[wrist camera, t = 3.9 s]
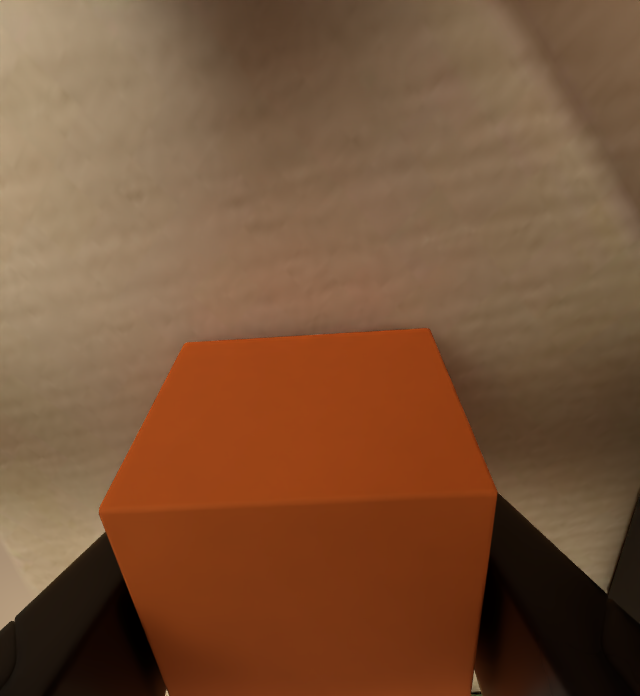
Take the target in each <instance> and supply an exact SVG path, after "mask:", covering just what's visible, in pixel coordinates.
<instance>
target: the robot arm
mask: <svg viewBox="0 0 640 696" xmlns="http://www.w3.org/2000/svg"><path fill="white" fill-rule="evenodd" d="M474 670H475V674H476V677H477V680H478V684H479V687H480V690H481V694H482V696H640V624H639V623H638V622H637V621H636V620H635V619H634V618H633V617H631V616H630V615H629V614H628V613H627V612H626V611H625V610H624V609H623V608H622V607H621V606H620V605H619V604H617V603H616V602H615V601H614V600H613V599H611V598H609V599H608V595H607V594H606V593H605V592H604V591H603V590H602V589H601V588H600V587H599V586H598V585H597V584H596V583H595V582H594V581H592V580H591V579H590V578H589V577H588V576H587V575H586V574H585V573H584V572H583V571H582V570H581V569H580V568H579V567H577V566H576V565H575V564H574V563H573V562H572V561H571V560H570V559H569V558H568V557H567V556H566V555H565V554H563V553H562V552H561V551H560V550H559V549H558V548H557V547H556V546H555V545H554V544H553V543H552V542H551V541H549V540H548V539H547V538H546V537H545V536H544V535H543V534H542V533H541V532H540V531H539V530H538V529H537V528H536V527H534V526H533V525H532V524H531V523H530V522H529V521H528V520H527V519H526V518H525V517H524V516H523V515H522V514H520V513H519V512H518V511H517V510H516V509H515V508H514V507H513V506H512V505H511V504H510V503H509V502H508V501H506V500H505V499H504V498H503V497H502V496H501V495H500V494H499V493H497V501H496V508H495V516H494V523H493V531H492V538H491V546H490V553H489V561H488V568H487V576H486V584H485V591H484V599H483V606H482V614H481V621H480V629H479V636H478V644H477V651H476V659H475V667H474ZM166 689H167V688H166V685H165V683H164V680H163V678H162V675H161V673H160V670H159V667H158V665H157V662H156V660H155V657H154V655H153V652H152V649H151V647H150V644H149V642H148V639H147V637H146V634H145V631H144V629H143V626H142V624H141V621H140V619H139V616H138V613H137V611H136V608H135V606H134V603H133V600H132V598H131V595H130V593H129V590H128V588H127V585H126V582H125V580H124V577H123V575H122V572H121V570H120V567H119V564H118V562H117V559H116V557H115V554H114V552H113V549H112V546H111V544H110V541H109V539H108V536H107V533H106V532H105V533H104V534H103V535H101V536H100V537H99V538H98V539H97V540H96V541H95V542H94V543H93V544H92V545H91V546H90V547H89V548H88V549H87V550H86V551H85V552H83V553H82V554H81V555H80V556H79V557H78V558H77V559H76V560H75V561H74V562H73V563H72V564H71V565H70V566H69V567H68V568H67V569H65V570H64V571H63V572H62V573H61V574H60V575H59V576H58V577H57V578H56V579H55V580H54V581H53V582H52V583H51V584H50V585H49V586H47V587H46V588H45V589H44V590H43V591H42V592H41V593H40V594H39V595H38V596H37V597H36V598H35V599H34V600H33V601H32V602H31V603H29V604H28V606H26V607H25V608H24V609H23V610H22V611H21V612H20V613H19V614H18V615H17V616H16V617H15V622H14V621H11V622H9V623H8V624H7V625H6V626H5V627H4V628H3V629H2V630H1V631H0V696H165V693H166Z"/></svg>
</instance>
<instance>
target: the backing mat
mask: <svg viewBox="0 0 640 696" xmlns="http://www.w3.org/2000/svg"><path fill="white" fill-rule="evenodd" d="M609 598H611V599H613V600H614V601H615V602H616V603H617V604H619V605H620V606H621V607H622V608H623V609H624V610H625V611H626V612H627V613H628V614H629V615H630V616H631V617H633V618H634V619H635V620H636V621H637V622H638V623H639V624H640V496H639V499H638V502H637V505H636V509H635V512H634V515H633V518H632V521H631V524H630V528H629V531H628V534H627V537H626V540H625V543H624V547H623V550H622V553H621V556H620V559H619V562H618V566H617V569H616V572H615V575H614V578H613V581H612V585H611V588H610V591H609V594H608V599H609Z"/></svg>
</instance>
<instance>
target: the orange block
mask: <svg viewBox="0 0 640 696" xmlns="http://www.w3.org/2000/svg"><path fill="white" fill-rule="evenodd" d="M497 493H498V492H497V489H496V487H495V484H494V482H493V480H492V477H491V475H490V472H489V470H488V468H487V465H486V463H485V460H484V458H483V456H482V453H481V451H480V448H479V446H478V444H477V441H476V439H475V436H474V434H473V432H472V429H471V427H470V424H469V422H468V420H467V417H466V415H465V412H464V410H463V408H462V405H461V403H460V400H459V398H458V396H457V393H456V391H455V388H454V386H453V384H452V381H451V379H450V376H449V374H448V372H447V369H446V367H445V364H444V362H443V360H442V357H441V355H440V352H439V350H438V348H437V345H436V343H435V340H434V338H433V336H432V333H431V331H430V329H428V328H420V329H403V330H386V331H370V332H353V333H336V334H319V335H303V336H286V337H269V338H252V339H236V340H219V341H202V342H187V343H185V344H184V345H183V347H182V349H181V351H180V353H179V355H178V356H177V358H176V360H175V362H174V364H173V366H172V368H171V370H170V372H169V374H168V376H167V378H166V380H165V382H164V384H163V385H162V387H161V389H160V391H159V393H158V395H157V397H156V399H155V401H154V403H153V405H152V407H151V409H150V411H149V413H148V414H147V416H146V418H145V420H144V422H143V424H142V426H141V428H140V430H139V432H138V434H137V436H136V438H135V440H134V442H133V443H132V445H131V447H130V449H129V451H128V453H127V455H126V457H125V459H124V461H123V463H122V465H121V467H120V469H119V471H118V472H117V474H116V476H115V478H114V480H113V482H112V484H111V486H110V488H109V490H108V492H107V494H106V496H105V498H104V500H103V501H102V503H101V505H100V507H99V515H100V518H101V521H102V523H103V526H104V528H105V531H106V533H107V536H108V539H109V541H110V544H111V546H112V549H113V552H114V554H115V557H116V559H117V562H118V564H119V567H120V570H121V572H122V575H123V577H124V580H125V582H126V585H127V588H128V590H129V593H130V595H131V598H132V600H133V603H134V606H135V608H136V611H137V613H138V616H139V619H140V621H141V624H142V626H143V629H144V631H145V634H146V637H147V639H148V642H149V644H150V647H151V649H152V652H153V655H154V657H155V660H156V662H157V665H158V667H159V670H160V673H161V675H162V678H163V680H164V683H165V685H166V688H167V691H168V693H169V696H471V689H472V682H473V674H474V667H475V659H476V651H477V644H478V636H479V629H480V621H481V614H482V606H483V599H484V591H485V584H486V576H487V568H488V561H489V553H490V546H491V538H492V531H493V523H494V516H495V508H496V501H497Z"/></svg>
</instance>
